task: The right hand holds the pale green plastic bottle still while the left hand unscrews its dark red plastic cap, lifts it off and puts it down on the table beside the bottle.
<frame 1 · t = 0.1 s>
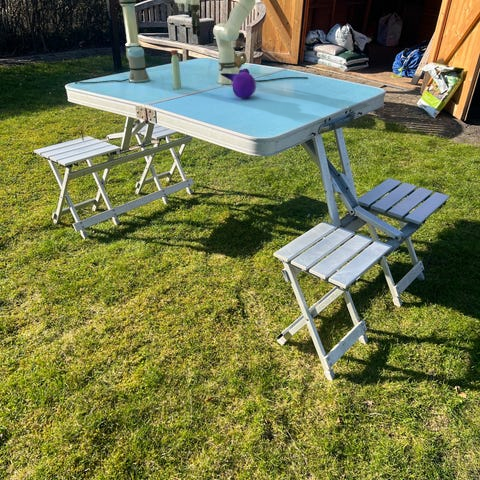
left hand: (196, 35, 349), 28 cm above the table, tool pointing down, fingers open, 13 cm apart
right hand: (183, 11, 293), 48 cm above the table, tool pointing down, fingers open, 8 cm apart
bottle: (177, 88, 314), on the table
toy: (240, 96, 290), on the table
cap: (174, 50, 302), point 25 cm above the table, screwed on, not yet turned
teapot: (235, 70, 371), on the table
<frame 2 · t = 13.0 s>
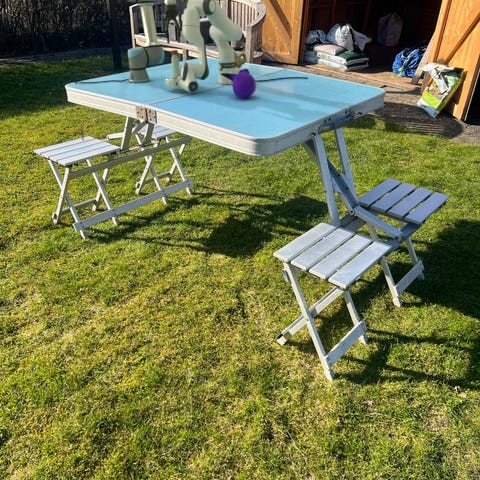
left hand: (173, 42, 299), 30 cm above the table, tool pointing down, fingers open, 7 cm apart
right hand: (176, 79, 312), 6 cm above the table, tool horizontal, fingers closed on bottle, 5 cm apart
bottle: (177, 88, 314), on the table, touching right hand
everything else where it was.
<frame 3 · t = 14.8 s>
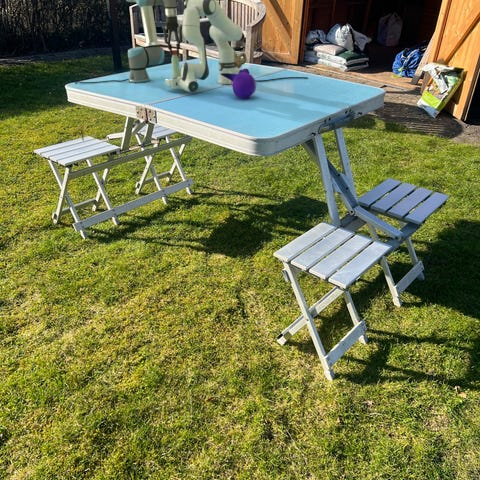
left hand: (174, 54, 303), 22 cm above the table, tool pointing down, fingers closed on cap, 4 cm apart
right hand: (176, 79, 311), 6 cm above the table, tool horizontal, fingers closed on bottle, 5 cm apart
bottle: (177, 88, 314), on the table, touching right hand
cap: (174, 50, 302), point 25 cm above the table, screwed on, not yet turned, touching left hand
everything else where it was.
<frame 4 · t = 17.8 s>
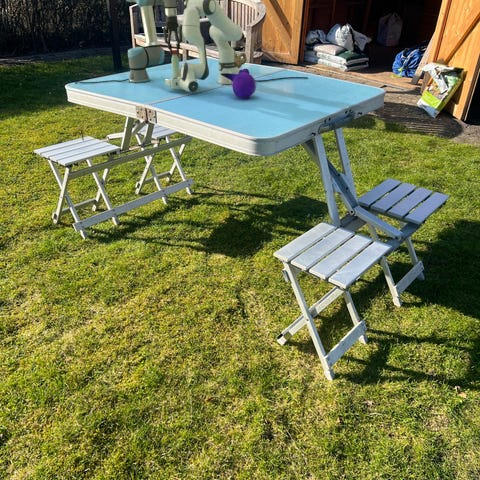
left hand: (174, 54, 303), 23 cm above the table, tool pointing down, fingers closed on cap, 4 cm apart
right hand: (176, 79, 311), 6 cm above the table, tool horizontal, fingers closed on bottle, 5 cm apart
bottle: (177, 88, 314), on the table, touching right hand
cap: (174, 50, 302), point 25 cm above the table, turned 90° so far, risen 0.1 cm, still on its thread, touching left hand
everything else where it was.
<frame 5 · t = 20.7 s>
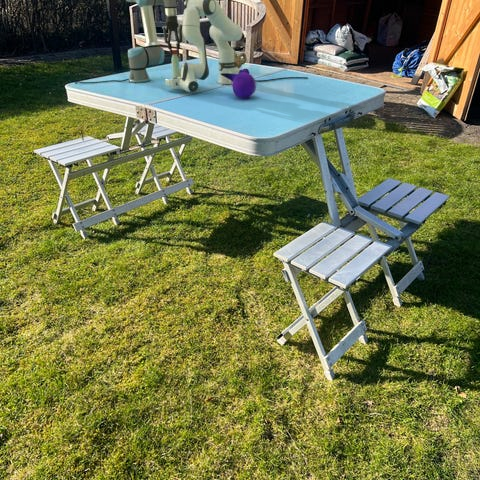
left hand: (174, 54, 303), 23 cm above the table, tool pointing down, fingers closed on cap, 4 cm apart
right hand: (176, 79, 311), 6 cm above the table, tool horizontal, fingers closed on bottle, 5 cm apart
bottle: (177, 88, 314), on the table, touching right hand
cap: (174, 50, 301), point 25 cm above the table, turned 179° so far, risen 0.2 cm, still on its thread, touching left hand
everything else where it was.
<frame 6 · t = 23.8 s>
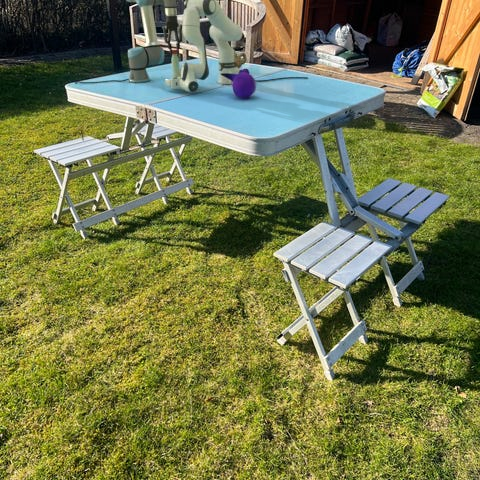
left hand: (174, 53, 302), 23 cm above the table, tool pointing down, fingers closed on cap, 4 cm apart
right hand: (176, 79, 311), 6 cm above the table, tool horizontal, fingers closed on bottle, 5 cm apart
bottle: (177, 88, 314), on the table, touching right hand
cap: (174, 50, 301), point 25 cm above the table, turned 268° so far, risen 0.3 cm, still on its thread, touching left hand
everything else where it was.
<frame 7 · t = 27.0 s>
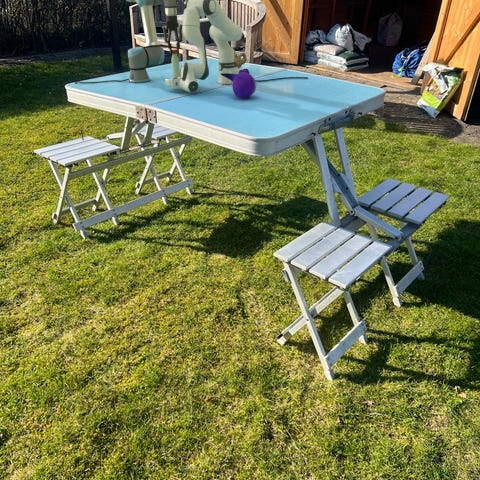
left hand: (174, 53, 302), 23 cm above the table, tool pointing down, fingers closed on cap, 4 cm apart
right hand: (176, 79, 311), 6 cm above the table, tool horizontal, fingers closed on bottle, 5 cm apart
bottle: (177, 88, 314), on the table, touching right hand
cap: (174, 50, 301), point 25 cm above the table, turned 358° so far, risen 0.4 cm, still on its thread, touching left hand
everything else where it was.
when the left hand's fingers open (1 cm above the table, at t = 37.4 s): cap drops 1 cm, point 2 cm above the table.
when the right hand's fingers open (6 cm above the table, at t = 38.7 s): bottle stays where it is, on the table.
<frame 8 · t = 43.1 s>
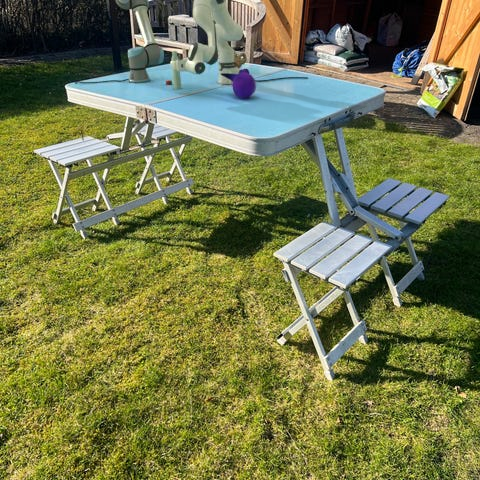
left hand: (163, 28, 309), 37 cm above the table, tool pointing down, fingers open, 13 cm apart
right hand: (181, 61, 296), 19 cm above the table, tool horizontal, fingers open, 8 cm apart
bottle: (177, 88, 314), on the table
cap: (168, 81, 327), point 2 cm above the table, off its thread
everything else where it was.
at the end: cap came off its thread; cap point 2.1 cm above the table; the left hand is holding nothing; the right hand is holding nothing; bottle tilted 0°; bottle moved 0.1 cm from its start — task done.
